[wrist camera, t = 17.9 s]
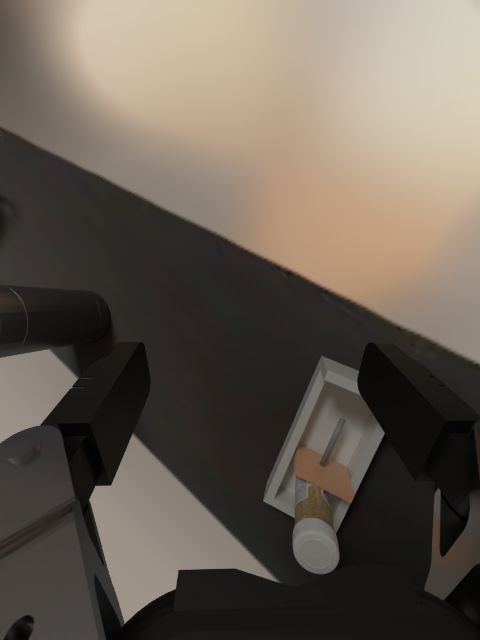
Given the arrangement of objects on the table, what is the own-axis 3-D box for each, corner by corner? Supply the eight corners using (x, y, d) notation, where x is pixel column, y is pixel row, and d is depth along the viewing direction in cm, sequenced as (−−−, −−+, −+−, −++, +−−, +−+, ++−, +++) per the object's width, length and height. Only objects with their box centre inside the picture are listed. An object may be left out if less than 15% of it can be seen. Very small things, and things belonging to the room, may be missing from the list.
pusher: (342, 471, 37) (351, 503, 31) (294, 448, 39) (293, 474, 33) (365, 423, 36) (378, 446, 30) (314, 401, 38) (317, 418, 32)
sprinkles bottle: (332, 472, 38) (350, 560, 25) (311, 491, 39) (317, 585, 26) (309, 449, 39) (314, 523, 25) (288, 468, 39) (282, 549, 26)
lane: (330, 517, 39) (338, 576, 31) (266, 484, 41) (257, 530, 33) (393, 385, 36) (422, 409, 28) (321, 355, 38) (327, 370, 30)
